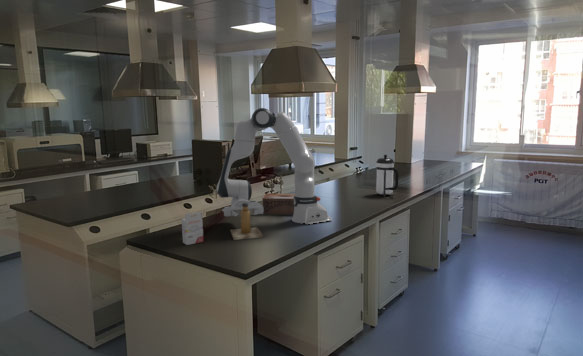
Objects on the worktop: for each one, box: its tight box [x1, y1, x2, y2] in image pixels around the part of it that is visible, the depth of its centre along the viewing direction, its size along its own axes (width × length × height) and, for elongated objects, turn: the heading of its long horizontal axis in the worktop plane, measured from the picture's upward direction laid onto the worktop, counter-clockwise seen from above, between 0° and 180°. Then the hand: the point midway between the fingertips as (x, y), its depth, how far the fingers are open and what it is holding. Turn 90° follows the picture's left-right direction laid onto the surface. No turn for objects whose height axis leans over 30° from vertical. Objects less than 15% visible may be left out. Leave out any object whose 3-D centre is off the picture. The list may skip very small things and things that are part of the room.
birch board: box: [230, 226, 263, 241], centre depth 201 cm, size 14×14×1 cm
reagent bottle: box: [240, 203, 252, 234], centre depth 199 cm, size 5×5×15 cm
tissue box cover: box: [262, 193, 295, 215], centre depth 247 cm, size 26×14×10 cm, turn 86°
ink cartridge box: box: [181, 211, 204, 246], centre depth 188 cm, size 9×5×15 cm, turn 126°
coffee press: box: [374, 154, 399, 196], centre depth 294 cm, size 17×16×30 cm
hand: (245, 214), depth 198 cm, fingers open, 8 cm apart
